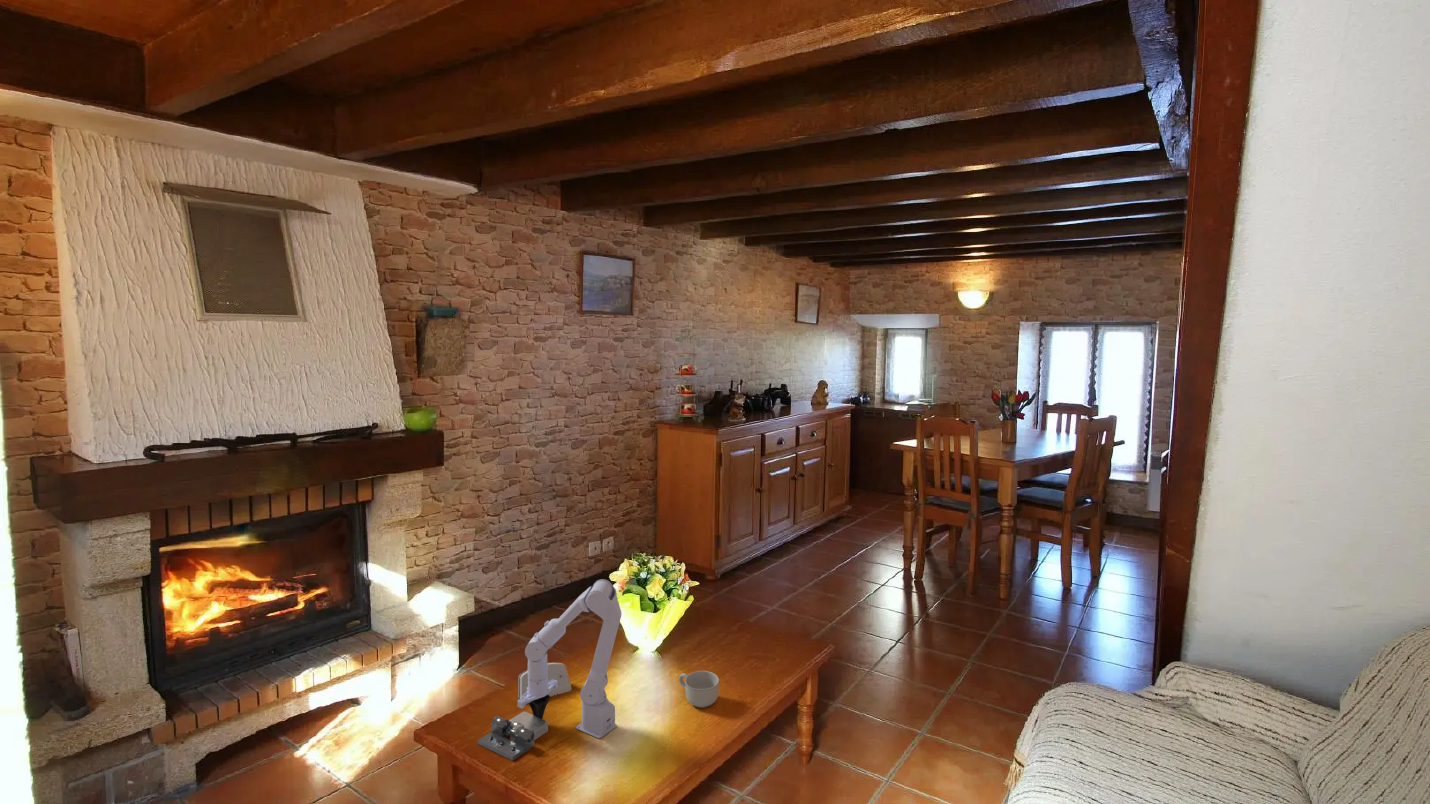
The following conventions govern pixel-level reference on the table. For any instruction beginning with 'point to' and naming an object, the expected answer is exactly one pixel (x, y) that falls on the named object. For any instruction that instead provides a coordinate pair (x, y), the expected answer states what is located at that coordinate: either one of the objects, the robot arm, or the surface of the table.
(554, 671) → the grey rounded slab
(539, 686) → the robot arm
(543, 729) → the grey boxy piece
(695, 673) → the teacup
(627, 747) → the table surface
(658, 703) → the table surface
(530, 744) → the fixed leaf
